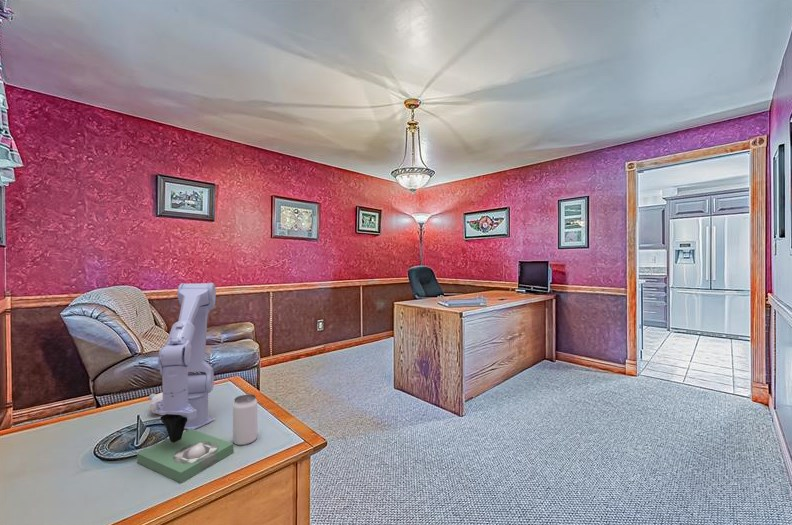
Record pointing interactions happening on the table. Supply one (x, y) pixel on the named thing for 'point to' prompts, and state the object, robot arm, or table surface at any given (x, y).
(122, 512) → the table surface
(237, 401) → the can
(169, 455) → the putting mat
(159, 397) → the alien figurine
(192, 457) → the ball
